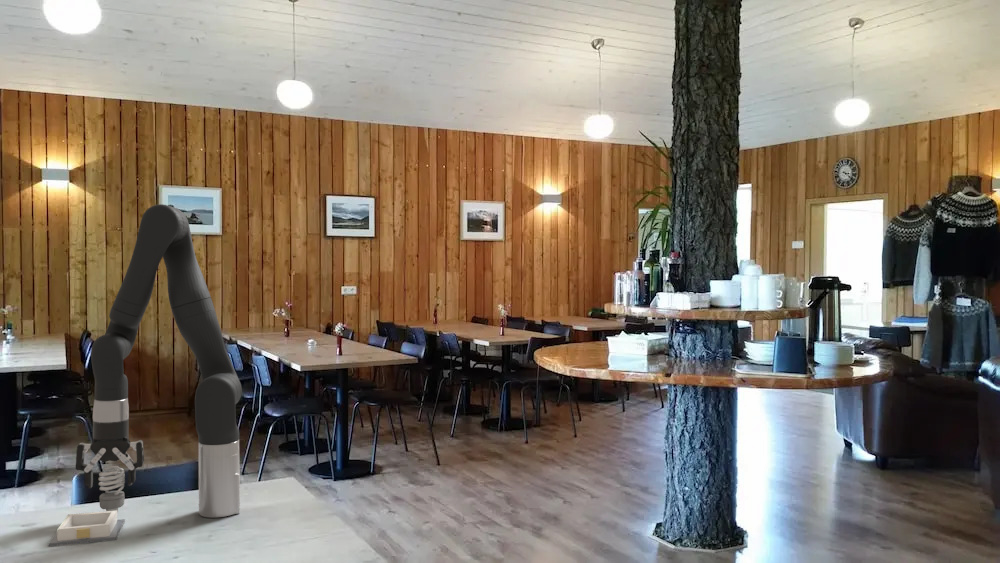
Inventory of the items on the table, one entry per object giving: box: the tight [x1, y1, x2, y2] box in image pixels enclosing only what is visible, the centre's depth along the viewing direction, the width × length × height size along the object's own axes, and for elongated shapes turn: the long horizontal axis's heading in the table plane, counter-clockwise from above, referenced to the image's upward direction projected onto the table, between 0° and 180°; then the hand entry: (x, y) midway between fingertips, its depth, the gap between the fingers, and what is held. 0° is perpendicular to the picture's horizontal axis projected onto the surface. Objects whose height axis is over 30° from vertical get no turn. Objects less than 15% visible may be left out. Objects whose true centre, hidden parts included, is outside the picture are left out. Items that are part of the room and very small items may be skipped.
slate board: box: [47, 518, 126, 547], centre depth 170 cm, size 13×12×1 cm
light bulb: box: [98, 465, 126, 514], centre depth 181 cm, size 6×6×12 cm
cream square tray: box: [56, 510, 118, 541], centre depth 170 cm, size 10×10×2 cm
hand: (110, 486), depth 181 cm, fingers open, 8 cm apart
